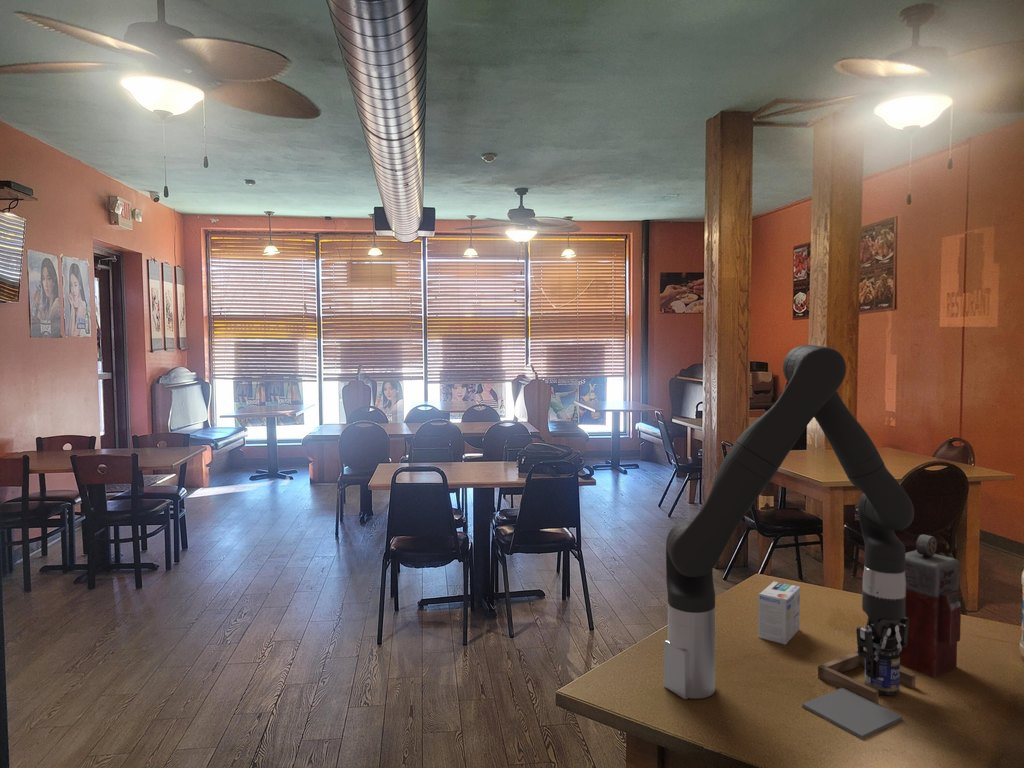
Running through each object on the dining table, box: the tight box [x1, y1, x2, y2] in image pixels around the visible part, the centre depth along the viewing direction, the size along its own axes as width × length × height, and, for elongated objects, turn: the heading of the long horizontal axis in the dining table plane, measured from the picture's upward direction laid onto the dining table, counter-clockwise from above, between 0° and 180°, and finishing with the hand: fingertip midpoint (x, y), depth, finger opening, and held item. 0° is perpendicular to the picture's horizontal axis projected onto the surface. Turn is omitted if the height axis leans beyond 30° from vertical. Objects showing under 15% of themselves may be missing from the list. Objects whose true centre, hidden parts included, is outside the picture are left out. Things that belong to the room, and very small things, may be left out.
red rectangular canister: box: [900, 534, 962, 679], centre depth 141 cm, size 9×11×28 cm
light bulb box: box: [757, 581, 801, 645], centre depth 158 cm, size 11×7×11 cm, turn 141°
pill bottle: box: [864, 635, 901, 696], centre depth 132 cm, size 6×6×11 cm
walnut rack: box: [817, 650, 917, 705], centre depth 135 cm, size 13×12×2 cm
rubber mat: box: [802, 688, 903, 740], centre depth 124 cm, size 12×12×1 cm
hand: (882, 672), depth 132 cm, fingers closed on pill bottle, 6 cm apart
